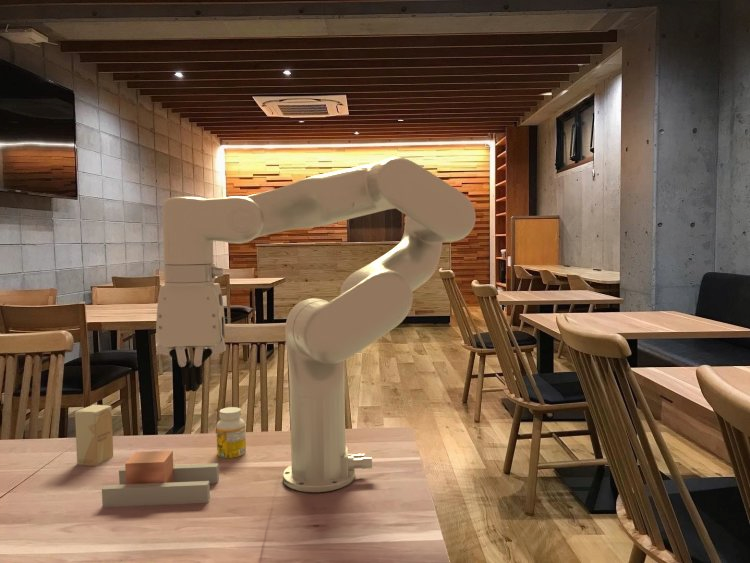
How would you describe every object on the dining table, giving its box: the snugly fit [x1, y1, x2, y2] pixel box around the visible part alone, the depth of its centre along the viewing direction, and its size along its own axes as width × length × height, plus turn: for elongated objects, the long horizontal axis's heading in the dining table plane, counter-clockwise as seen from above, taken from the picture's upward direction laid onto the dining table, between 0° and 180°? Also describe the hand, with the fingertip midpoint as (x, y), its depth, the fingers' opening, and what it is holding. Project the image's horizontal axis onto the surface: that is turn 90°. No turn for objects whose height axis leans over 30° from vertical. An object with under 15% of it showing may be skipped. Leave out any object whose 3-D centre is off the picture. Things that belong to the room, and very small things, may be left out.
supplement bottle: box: [215, 406, 247, 459], centre depth 113 cm, size 5×5×10 cm
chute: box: [101, 463, 220, 508], centre depth 96 cm, size 24×12×4 cm, turn 94°
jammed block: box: [124, 450, 174, 484], centre depth 96 cm, size 6×5×6 cm
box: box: [74, 404, 114, 467], centre depth 111 cm, size 5×4×11 cm
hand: (192, 389), depth 95 cm, fingers closed
